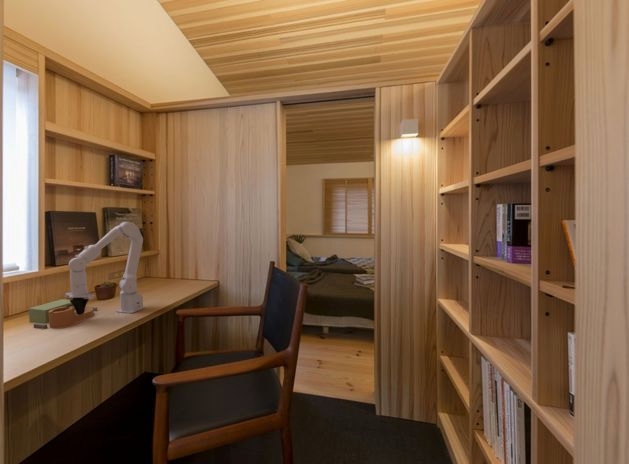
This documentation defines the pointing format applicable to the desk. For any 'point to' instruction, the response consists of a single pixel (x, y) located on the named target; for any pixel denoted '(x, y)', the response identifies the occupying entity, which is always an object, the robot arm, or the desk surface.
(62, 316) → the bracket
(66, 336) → the desk surface
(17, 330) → the desk surface
